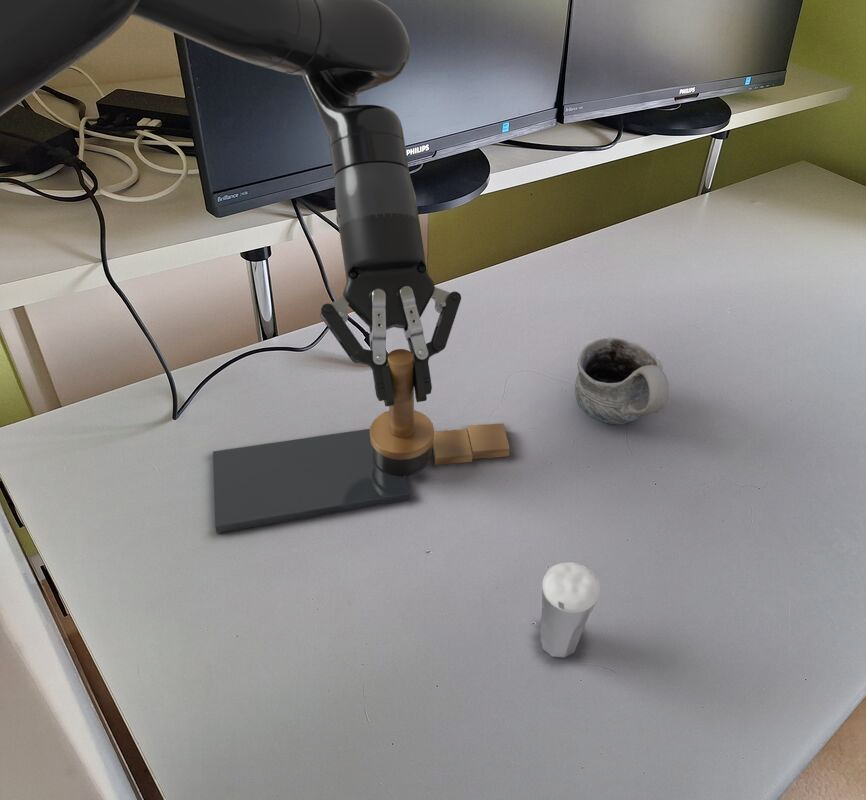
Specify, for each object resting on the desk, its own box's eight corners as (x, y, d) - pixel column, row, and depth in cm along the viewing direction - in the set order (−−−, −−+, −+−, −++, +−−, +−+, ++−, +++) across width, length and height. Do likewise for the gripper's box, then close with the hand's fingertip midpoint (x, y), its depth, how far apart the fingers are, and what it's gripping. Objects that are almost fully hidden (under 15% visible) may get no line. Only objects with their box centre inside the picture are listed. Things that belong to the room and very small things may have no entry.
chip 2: (472, 459, 81) (472, 451, 80) (467, 433, 84) (467, 425, 83) (508, 456, 82) (509, 448, 81) (502, 431, 85) (503, 423, 84)
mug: (614, 373, 94) (628, 306, 88) (686, 433, 87) (708, 365, 81) (553, 400, 90) (564, 331, 83) (624, 465, 83) (643, 396, 76)
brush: (377, 482, 76) (372, 383, 67) (365, 437, 80) (359, 340, 71) (440, 470, 78) (443, 373, 69) (425, 427, 82) (426, 331, 73)
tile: (216, 533, 70) (214, 526, 70) (214, 458, 77) (212, 451, 77) (409, 499, 76) (409, 493, 75) (391, 432, 83) (390, 425, 82)
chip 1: (434, 465, 80) (434, 457, 79) (430, 439, 83) (430, 431, 82) (472, 462, 81) (472, 454, 80) (466, 436, 84) (467, 428, 83)
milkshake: (520, 660, 64) (532, 591, 57) (544, 610, 68) (557, 540, 61) (571, 682, 63) (589, 614, 56) (591, 630, 67) (610, 561, 60)
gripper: (302, 215, 66) (331, 412, 66) (458, 205, 70) (486, 390, 70) (302, 238, 73) (328, 416, 73) (444, 228, 77) (469, 396, 77)
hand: (406, 402), depth 71 cm, fingers closed on brush, 2 cm apart
